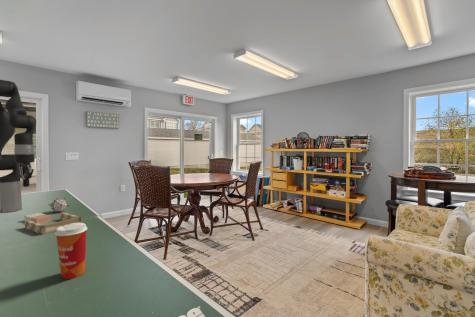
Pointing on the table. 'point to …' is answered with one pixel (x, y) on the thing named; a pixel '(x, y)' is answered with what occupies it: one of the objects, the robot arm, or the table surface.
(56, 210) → the game die
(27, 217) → the cream tile
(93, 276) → the table surface
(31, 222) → the box
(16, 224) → the table surface
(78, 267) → the paper cup
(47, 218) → the terracotta tile
